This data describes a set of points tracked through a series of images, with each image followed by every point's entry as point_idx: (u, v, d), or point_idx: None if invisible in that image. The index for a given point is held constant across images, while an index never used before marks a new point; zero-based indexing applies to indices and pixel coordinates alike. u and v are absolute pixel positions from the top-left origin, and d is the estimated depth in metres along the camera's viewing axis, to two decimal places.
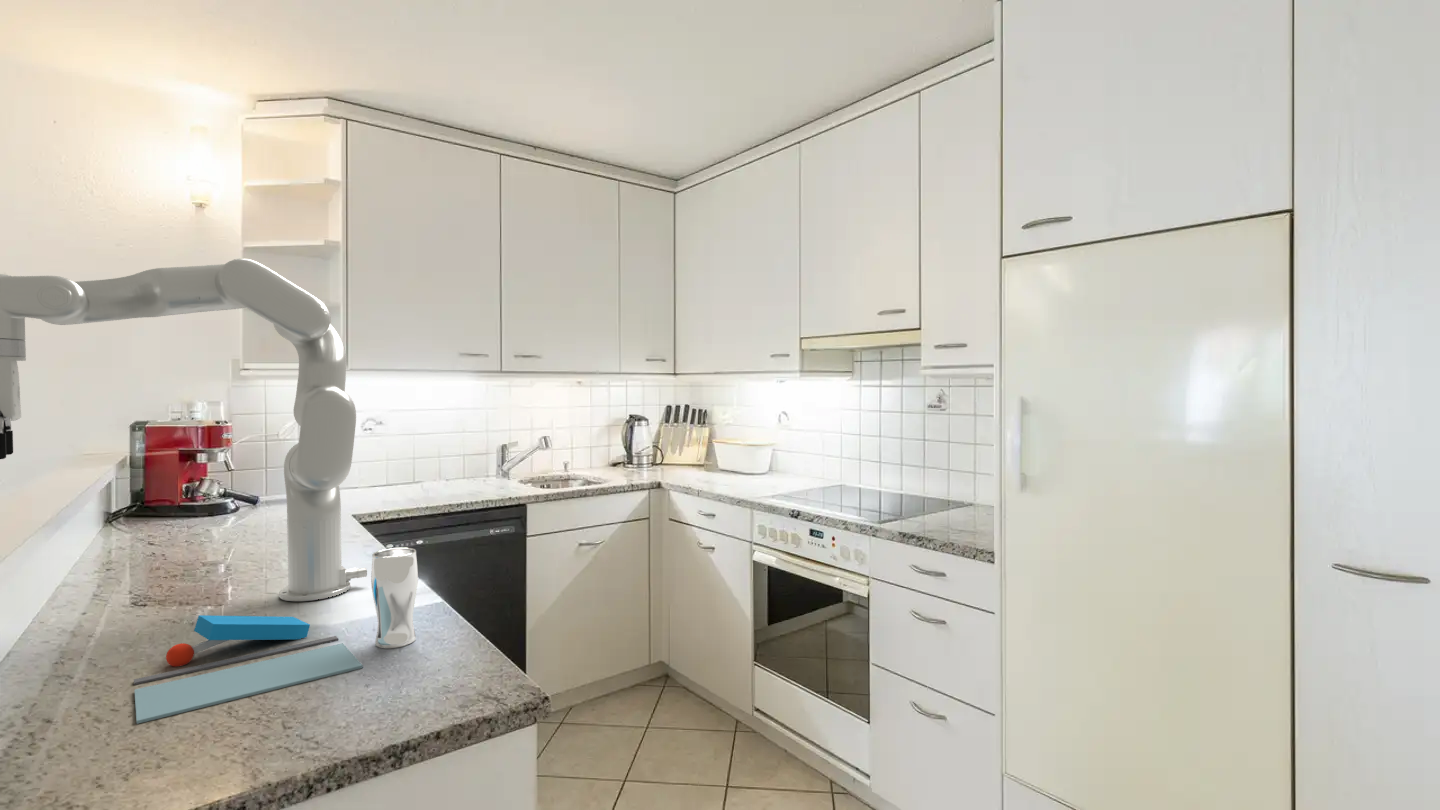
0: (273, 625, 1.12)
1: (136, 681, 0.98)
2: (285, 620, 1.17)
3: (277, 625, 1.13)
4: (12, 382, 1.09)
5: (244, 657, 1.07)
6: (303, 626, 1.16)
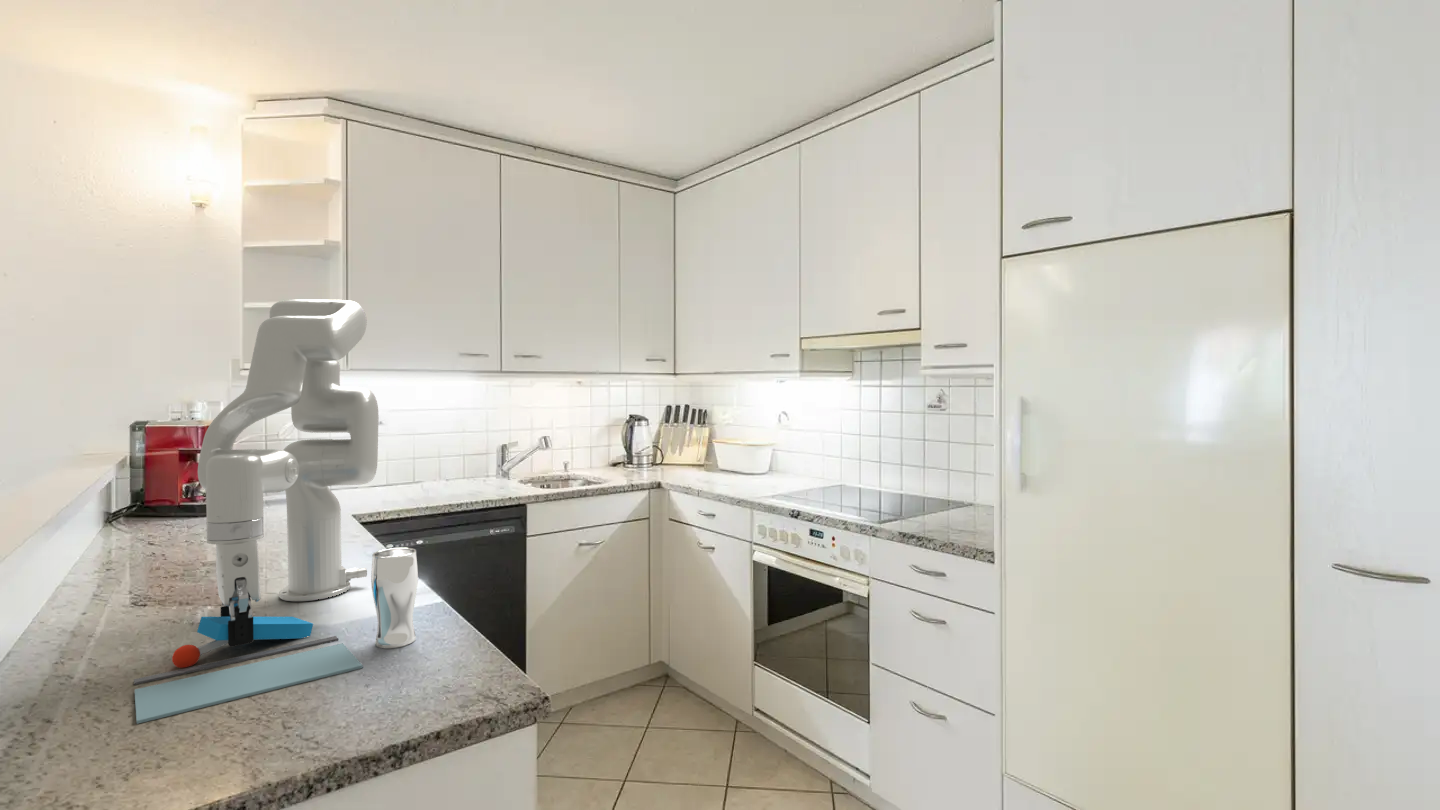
0: (278, 624, 1.13)
1: (136, 681, 0.98)
2: (287, 620, 1.17)
3: (282, 624, 1.13)
4: (258, 564, 1.09)
5: (244, 657, 1.07)
6: (307, 625, 1.17)
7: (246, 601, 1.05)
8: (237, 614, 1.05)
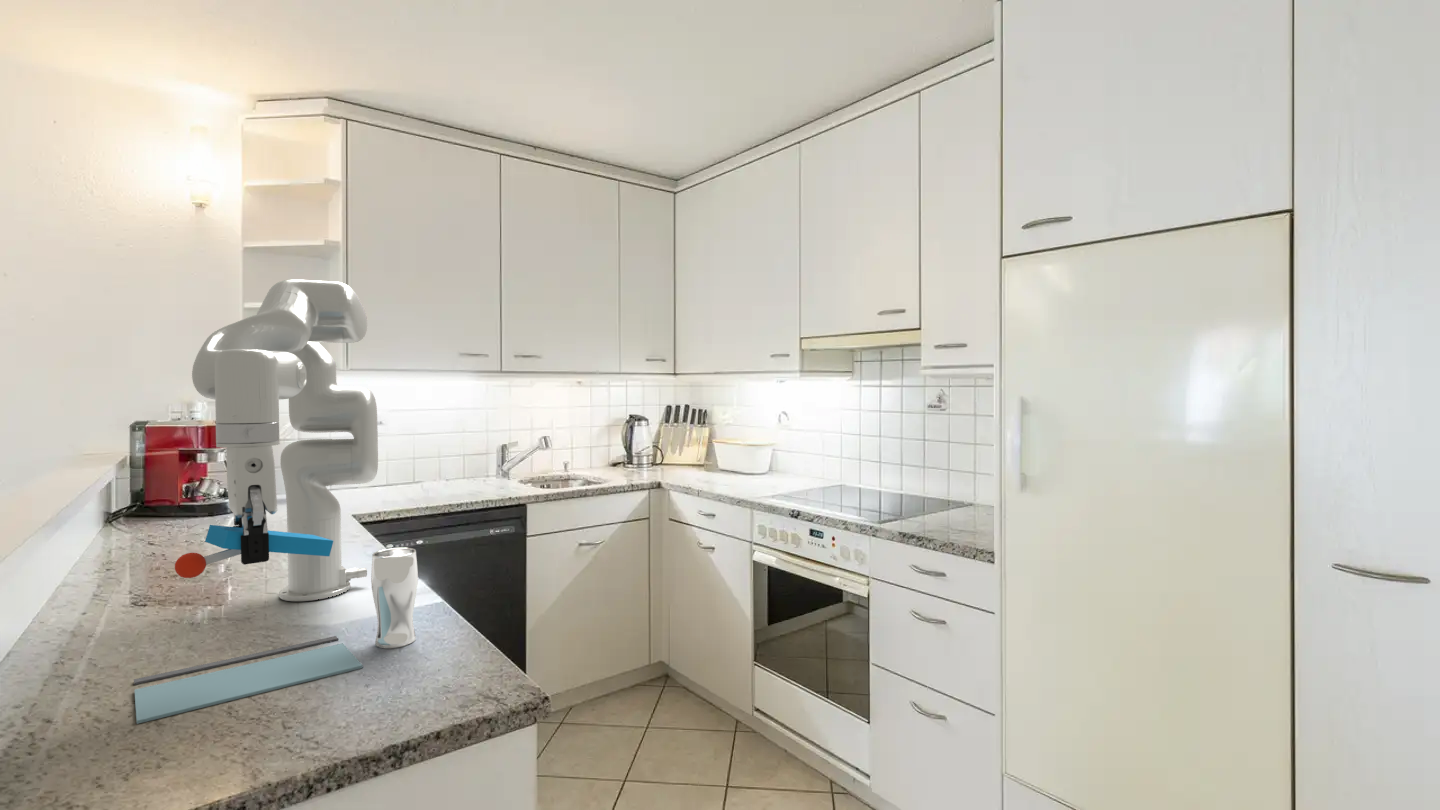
0: (294, 538, 1.01)
1: (136, 681, 0.98)
2: (305, 536, 1.05)
3: (298, 538, 1.01)
4: (274, 472, 0.97)
5: (244, 657, 1.07)
6: (326, 542, 1.05)
7: (261, 514, 0.93)
8: (251, 527, 0.94)
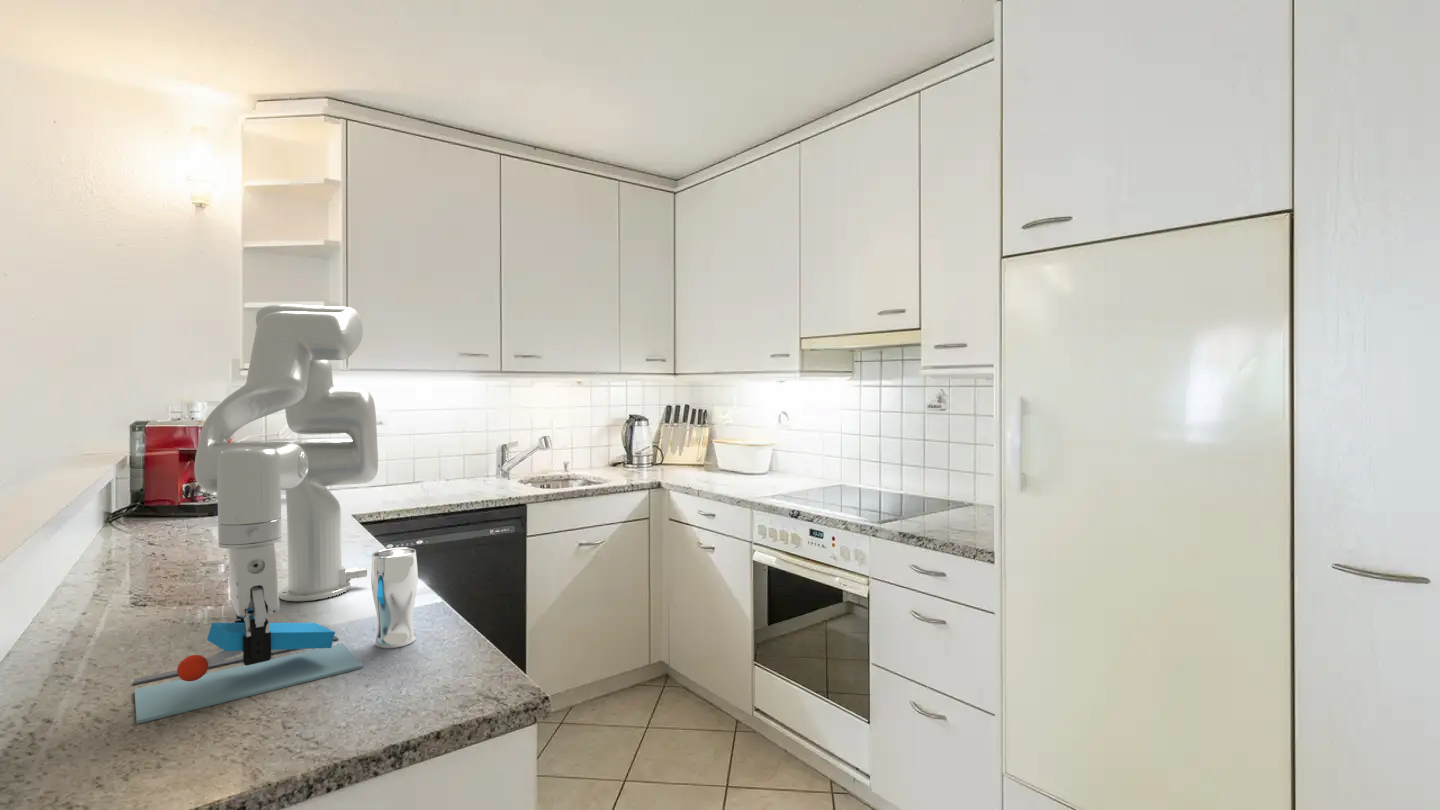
0: (295, 633, 1.01)
1: (136, 681, 0.98)
2: (307, 627, 1.05)
3: (300, 633, 1.01)
4: (276, 571, 0.98)
5: None
6: (328, 634, 1.05)
7: (263, 617, 0.94)
8: (253, 629, 0.94)
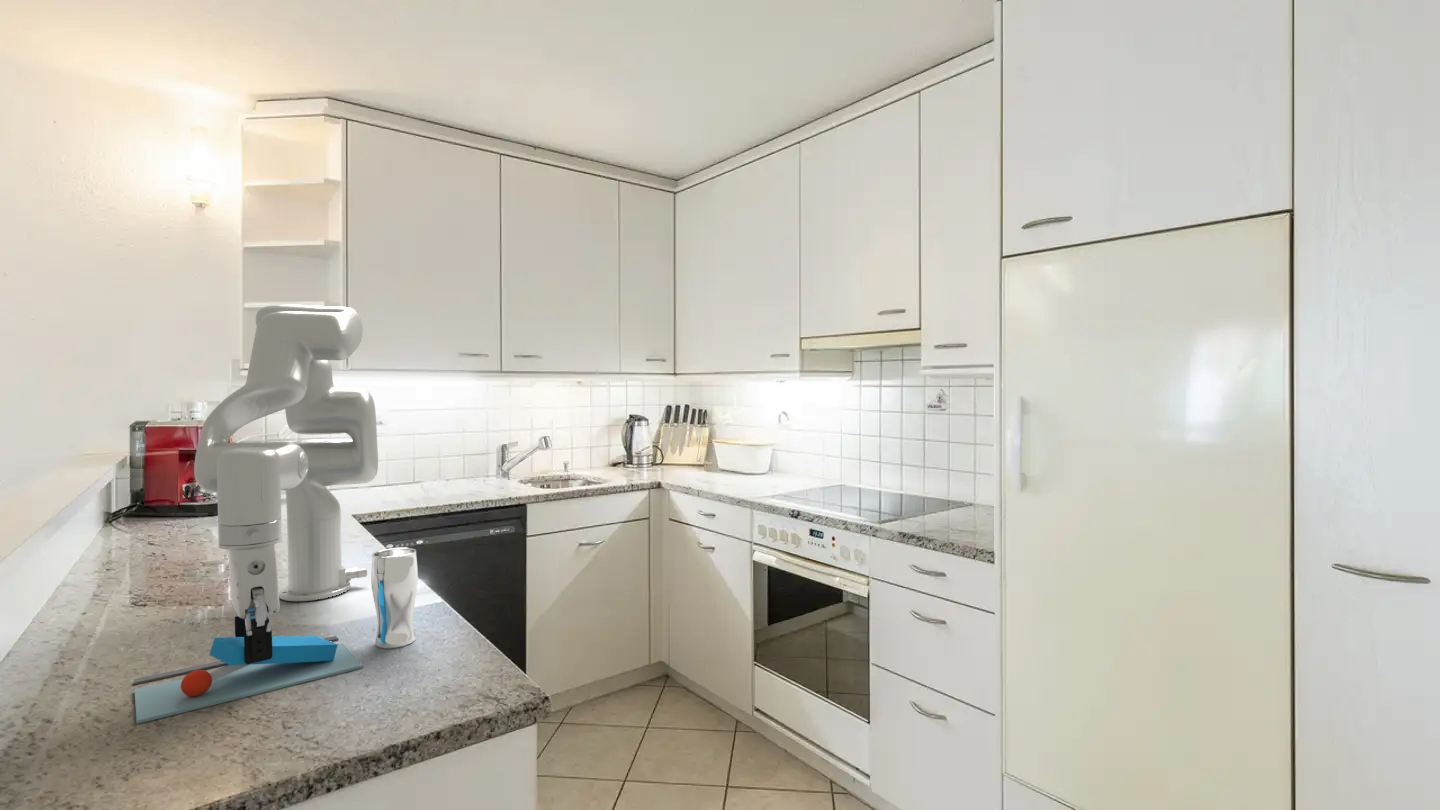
0: (299, 646, 1.01)
1: (136, 681, 0.98)
2: (309, 640, 1.06)
3: (303, 646, 1.02)
4: (277, 572, 0.98)
5: None
6: (331, 647, 1.05)
7: (264, 614, 0.93)
8: (254, 628, 0.94)
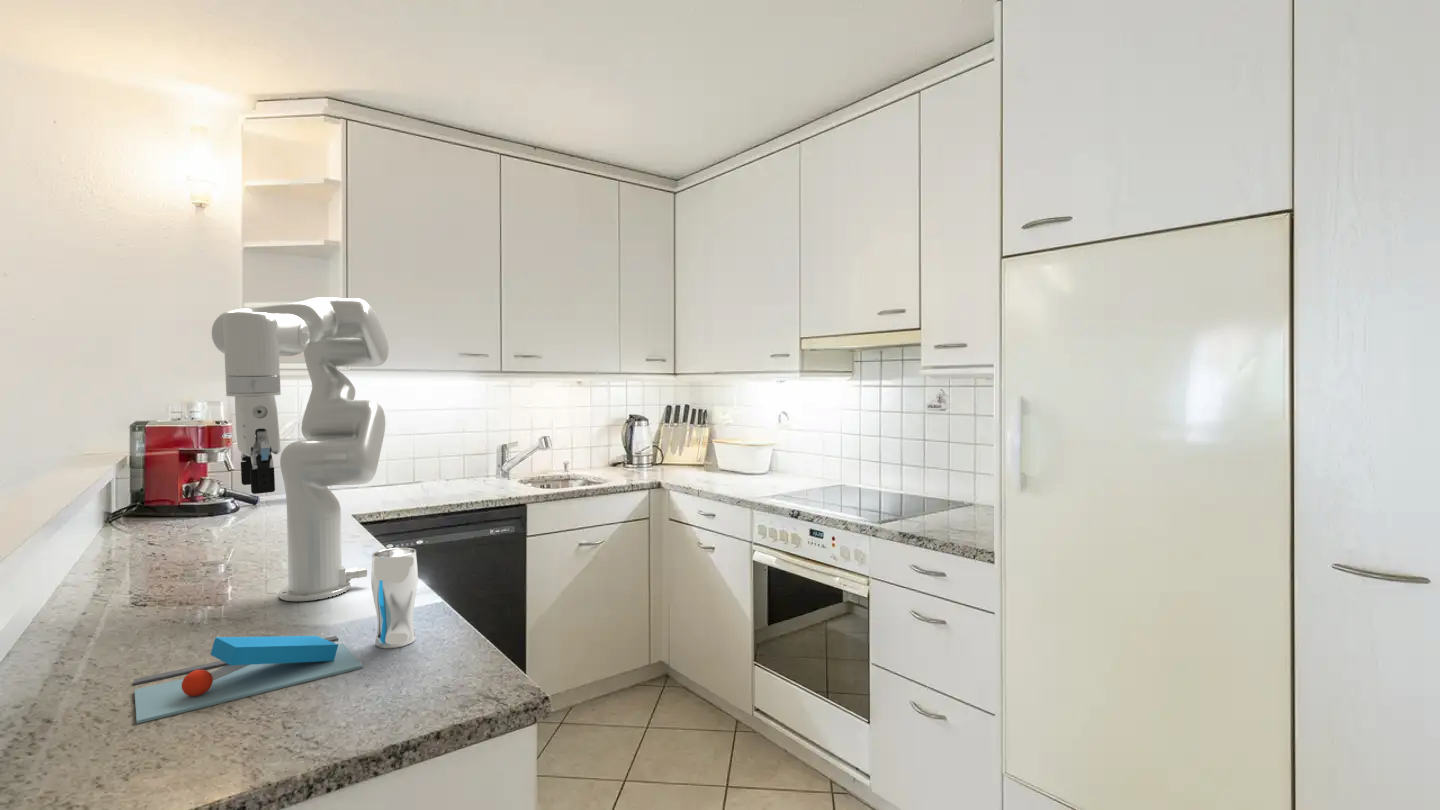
0: (299, 646, 1.01)
1: (136, 681, 0.98)
2: (310, 640, 1.06)
3: (303, 646, 1.02)
4: (277, 418, 1.13)
5: None
6: (331, 647, 1.05)
7: (268, 449, 1.09)
8: (259, 462, 1.10)
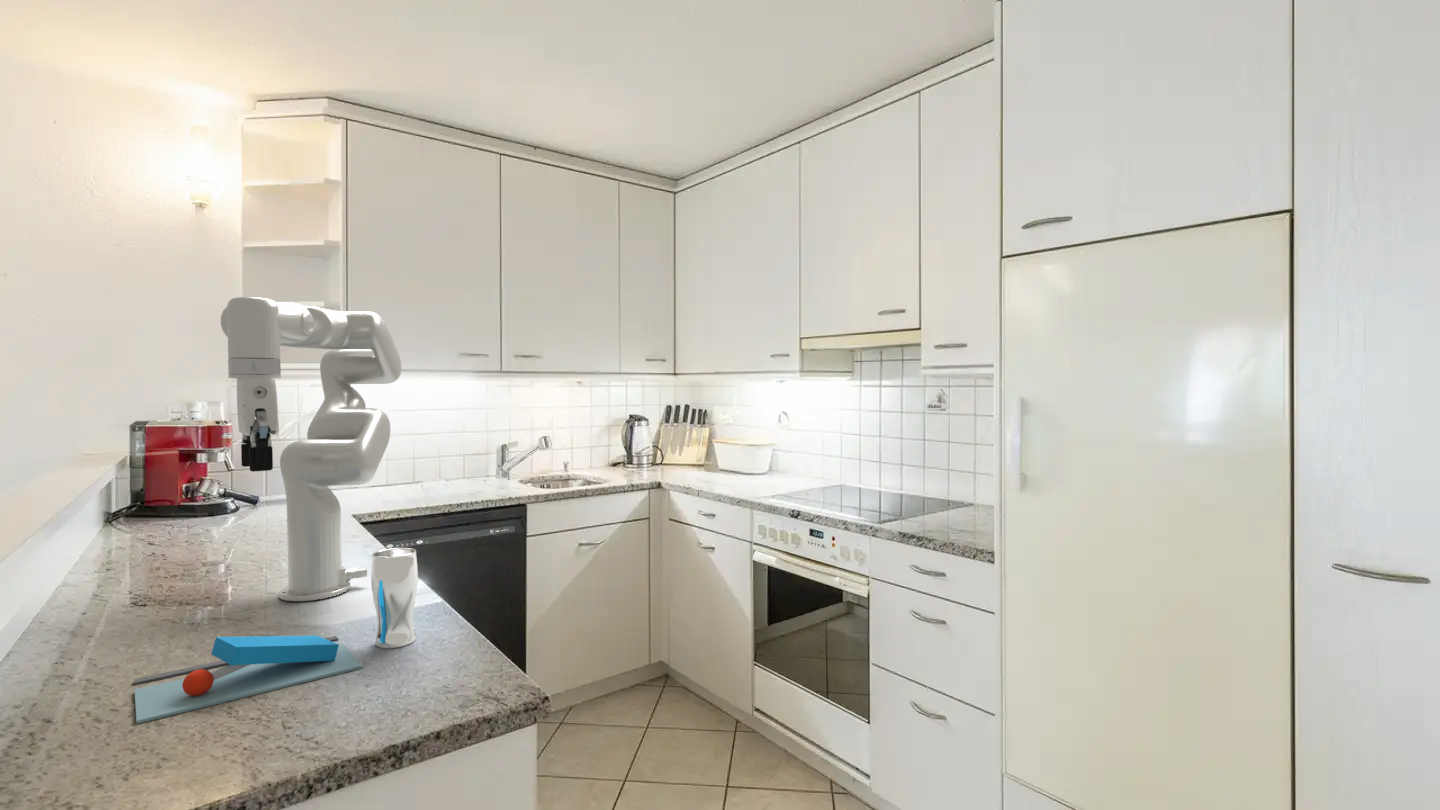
0: (300, 646, 1.01)
1: (136, 681, 0.98)
2: (310, 640, 1.06)
3: (304, 646, 1.02)
4: (276, 399, 1.18)
5: None
6: (332, 646, 1.05)
7: (266, 427, 1.13)
8: (258, 440, 1.14)
